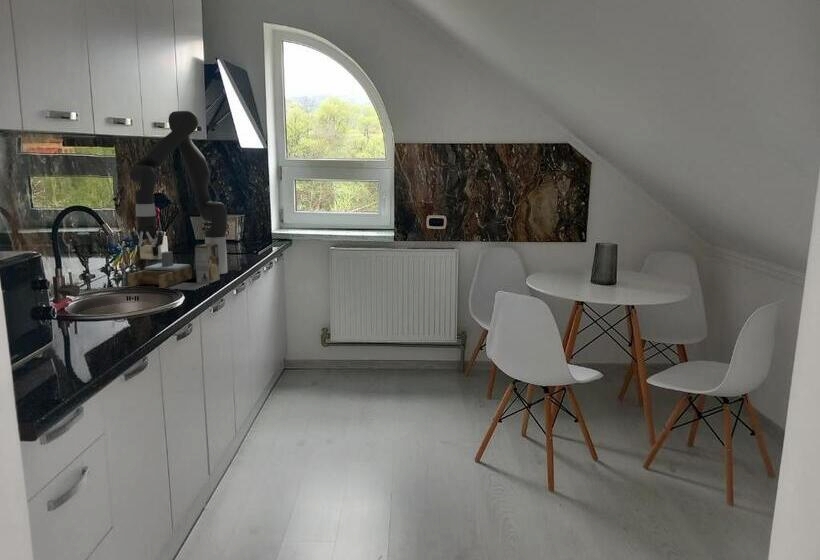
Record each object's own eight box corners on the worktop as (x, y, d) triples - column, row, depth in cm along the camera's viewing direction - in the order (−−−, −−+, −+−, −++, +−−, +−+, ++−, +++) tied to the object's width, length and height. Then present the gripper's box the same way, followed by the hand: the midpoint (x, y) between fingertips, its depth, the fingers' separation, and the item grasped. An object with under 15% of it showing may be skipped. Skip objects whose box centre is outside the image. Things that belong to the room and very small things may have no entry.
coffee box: (207, 279, 281) (205, 243, 278) (220, 279, 280) (218, 243, 277) (196, 283, 273) (194, 246, 270) (209, 283, 271) (207, 246, 268)
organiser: (161, 277, 286) (160, 265, 285) (192, 278, 283) (191, 266, 282) (128, 287, 262) (127, 274, 261) (161, 289, 259) (160, 275, 258)
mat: (183, 283, 271) (183, 282, 271) (209, 284, 269) (209, 283, 269) (167, 289, 259) (167, 287, 259) (194, 290, 257) (194, 289, 257)
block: (147, 256, 266) (146, 245, 265) (158, 257, 265) (157, 245, 264) (140, 258, 261) (139, 246, 260) (151, 259, 260) (150, 247, 259)
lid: (159, 265, 284) (158, 249, 282) (190, 266, 281) (189, 250, 280) (144, 269, 273) (143, 253, 272) (176, 270, 270) (175, 254, 269)
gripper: (167, 214, 262) (170, 254, 265) (135, 213, 264) (138, 253, 268) (156, 216, 255) (160, 257, 258) (124, 215, 257) (128, 256, 260)
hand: (149, 255), depth 263 cm, fingers closed on block, 5 cm apart
